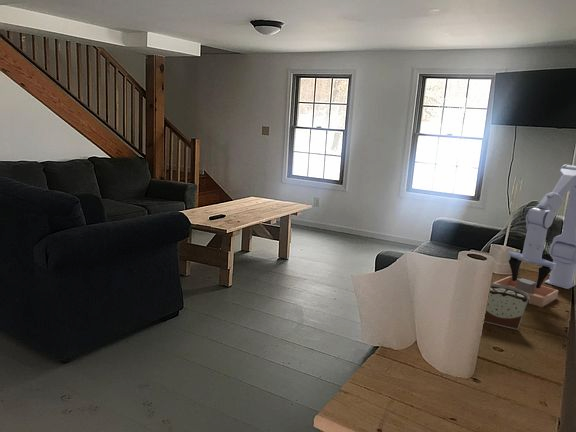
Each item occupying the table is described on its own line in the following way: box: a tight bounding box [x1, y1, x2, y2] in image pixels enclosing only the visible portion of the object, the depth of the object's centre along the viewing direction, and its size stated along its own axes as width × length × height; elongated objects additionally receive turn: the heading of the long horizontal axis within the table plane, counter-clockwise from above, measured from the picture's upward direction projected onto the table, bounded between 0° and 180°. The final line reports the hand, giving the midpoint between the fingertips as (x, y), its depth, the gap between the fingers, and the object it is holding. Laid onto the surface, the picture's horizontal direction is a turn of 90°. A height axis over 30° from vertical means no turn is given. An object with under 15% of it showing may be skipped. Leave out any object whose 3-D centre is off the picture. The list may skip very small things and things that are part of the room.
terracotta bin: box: [492, 275, 559, 308], centre depth 157 cm, size 14×16×3 cm
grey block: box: [516, 277, 537, 295], centre depth 157 cm, size 4×4×4 cm
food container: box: [483, 283, 531, 331], centre depth 132 cm, size 12×6×10 cm, turn 65°
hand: (526, 284), depth 157 cm, fingers open, 7 cm apart
